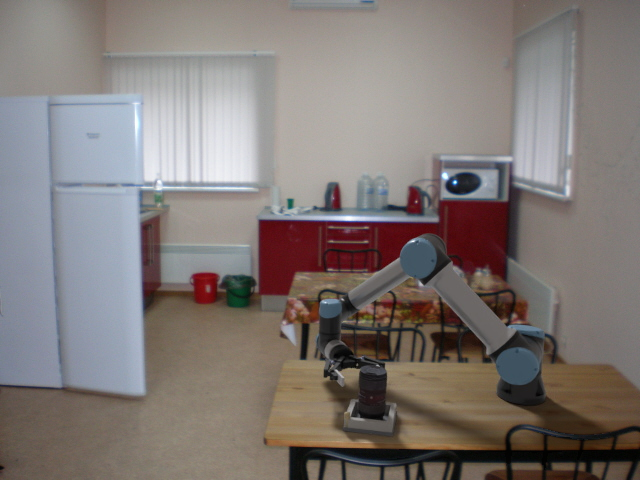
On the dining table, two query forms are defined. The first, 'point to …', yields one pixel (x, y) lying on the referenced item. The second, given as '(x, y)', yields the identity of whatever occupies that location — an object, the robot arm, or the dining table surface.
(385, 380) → the camera lens
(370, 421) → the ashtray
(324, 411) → the dining table surface
